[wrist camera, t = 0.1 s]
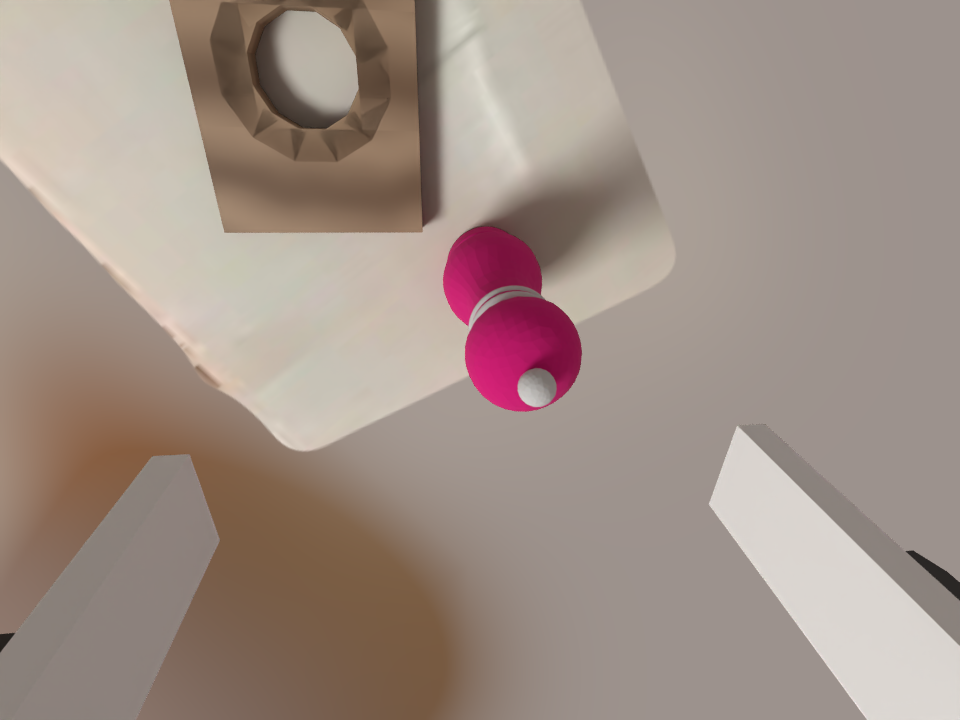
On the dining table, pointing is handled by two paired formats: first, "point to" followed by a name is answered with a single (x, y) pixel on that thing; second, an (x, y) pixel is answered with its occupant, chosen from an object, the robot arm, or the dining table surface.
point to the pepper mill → (509, 322)
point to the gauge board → (307, 151)
